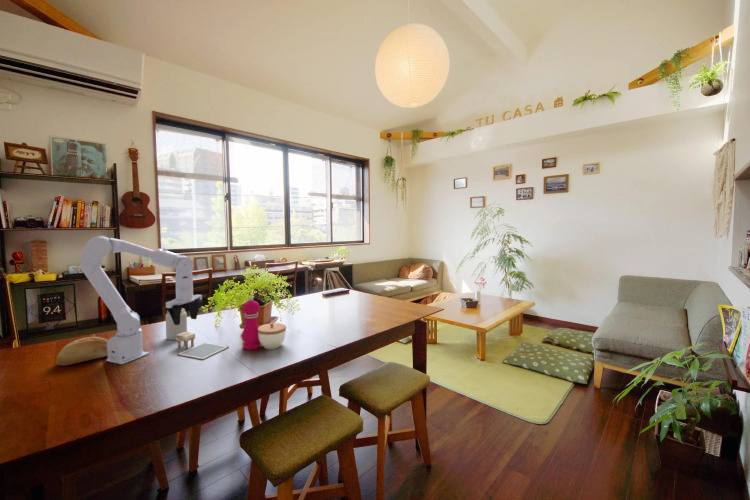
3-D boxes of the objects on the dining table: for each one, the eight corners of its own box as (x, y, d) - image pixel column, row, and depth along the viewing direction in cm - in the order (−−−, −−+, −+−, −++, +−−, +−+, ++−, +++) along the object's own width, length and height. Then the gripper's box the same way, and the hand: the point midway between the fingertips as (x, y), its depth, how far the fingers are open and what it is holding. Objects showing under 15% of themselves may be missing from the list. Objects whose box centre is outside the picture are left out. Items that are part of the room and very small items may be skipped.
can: (191, 335, 136) (190, 307, 135) (178, 341, 129) (177, 312, 128) (175, 334, 137) (174, 307, 136) (161, 340, 130) (160, 311, 129)
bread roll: (116, 358, 112) (115, 336, 112) (57, 372, 101) (55, 347, 101) (112, 350, 119) (111, 329, 118) (56, 362, 108) (54, 339, 107)
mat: (202, 360, 112) (202, 358, 112) (177, 355, 116) (177, 353, 116) (228, 347, 123) (228, 346, 123) (204, 343, 127) (204, 342, 127)
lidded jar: (251, 348, 123) (251, 324, 122) (272, 339, 133) (271, 317, 132) (272, 353, 118) (271, 329, 117) (291, 344, 128) (291, 321, 127)
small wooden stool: (195, 345, 125) (194, 333, 124) (186, 349, 121) (186, 336, 120) (185, 343, 126) (185, 331, 126) (176, 347, 122) (176, 335, 122)
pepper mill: (255, 351, 120) (254, 299, 119) (237, 349, 122) (237, 298, 120) (264, 344, 127) (264, 295, 126) (248, 342, 129) (248, 294, 127)
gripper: (175, 291, 114) (176, 328, 115) (207, 284, 128) (208, 317, 129) (160, 290, 116) (162, 326, 117) (193, 283, 130) (194, 315, 131)
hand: (185, 321), depth 123 cm, fingers open, 7 cm apart
